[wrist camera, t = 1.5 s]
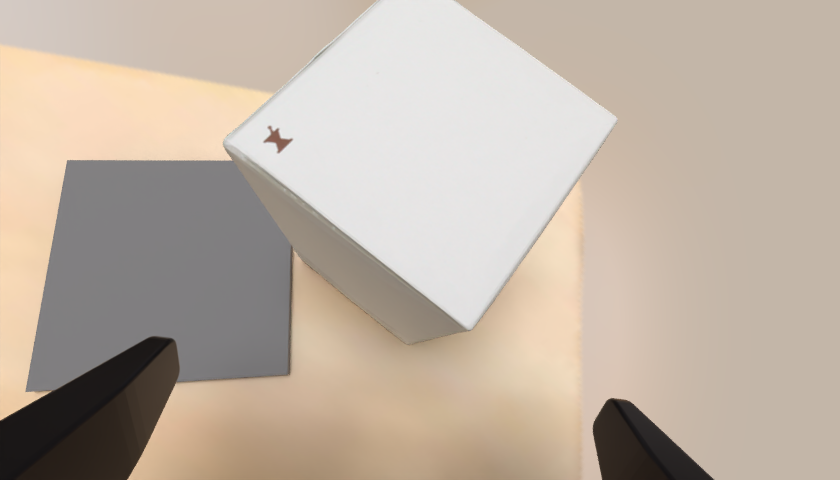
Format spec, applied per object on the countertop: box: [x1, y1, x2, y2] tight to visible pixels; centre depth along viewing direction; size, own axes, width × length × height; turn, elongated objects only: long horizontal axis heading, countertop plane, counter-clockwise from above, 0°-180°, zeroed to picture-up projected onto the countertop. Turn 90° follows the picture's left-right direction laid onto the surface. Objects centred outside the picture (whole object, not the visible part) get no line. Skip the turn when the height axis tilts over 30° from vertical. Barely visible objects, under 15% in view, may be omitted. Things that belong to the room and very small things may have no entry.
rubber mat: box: [26, 160, 292, 392], centre depth 20 cm, size 11×11×1 cm
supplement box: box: [223, 0, 618, 345], centre depth 16 cm, size 7×7×13 cm
